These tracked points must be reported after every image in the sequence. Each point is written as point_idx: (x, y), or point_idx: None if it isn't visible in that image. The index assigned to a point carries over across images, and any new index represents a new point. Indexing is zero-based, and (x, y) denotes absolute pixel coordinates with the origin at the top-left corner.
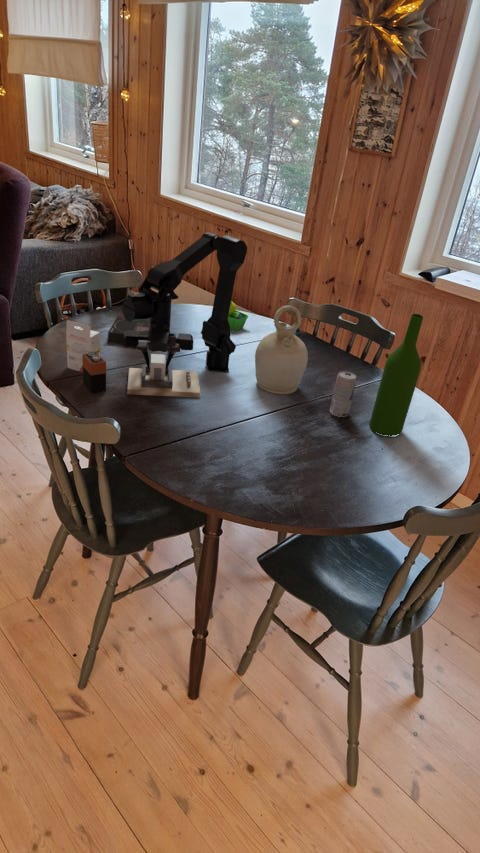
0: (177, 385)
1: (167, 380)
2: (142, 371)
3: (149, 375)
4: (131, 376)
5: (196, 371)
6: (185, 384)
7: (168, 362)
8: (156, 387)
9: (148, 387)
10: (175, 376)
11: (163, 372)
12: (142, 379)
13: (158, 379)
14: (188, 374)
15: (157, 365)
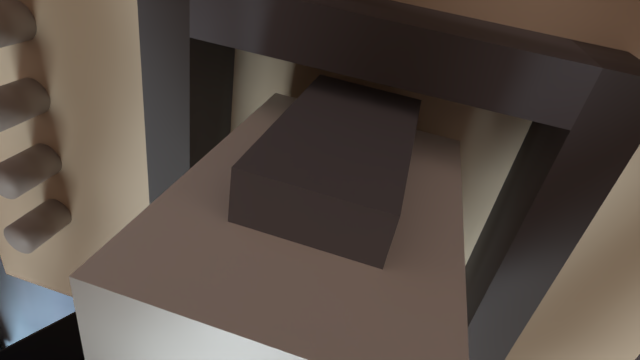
0: (134, 41)
1: (212, 34)
2: (506, 346)
3: None
4: (613, 334)
5: (9, 272)
6: (56, 57)
7: (64, 339)
8: (402, 3)
9: (518, 28)
10: None
11: (227, 166)
12: (634, 127)
13: (344, 97)
14: (4, 191)
15: (295, 295)
